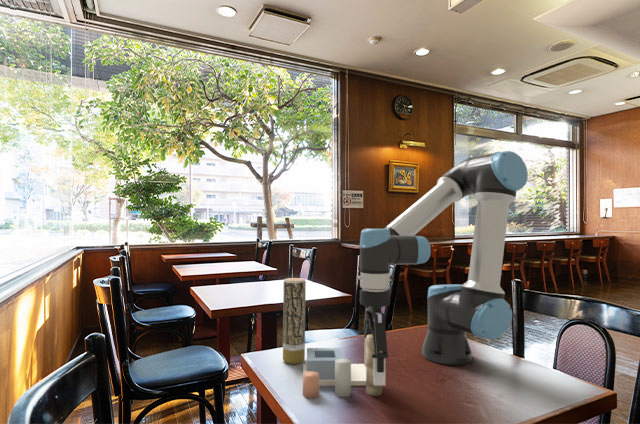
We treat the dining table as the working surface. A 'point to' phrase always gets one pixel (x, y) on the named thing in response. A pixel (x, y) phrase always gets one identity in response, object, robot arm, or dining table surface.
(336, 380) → the medium dowel
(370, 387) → the long dowel
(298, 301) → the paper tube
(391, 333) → the dining table surface
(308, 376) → the short dowel
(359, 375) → the socket board
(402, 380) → the dining table surface
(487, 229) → the robot arm
